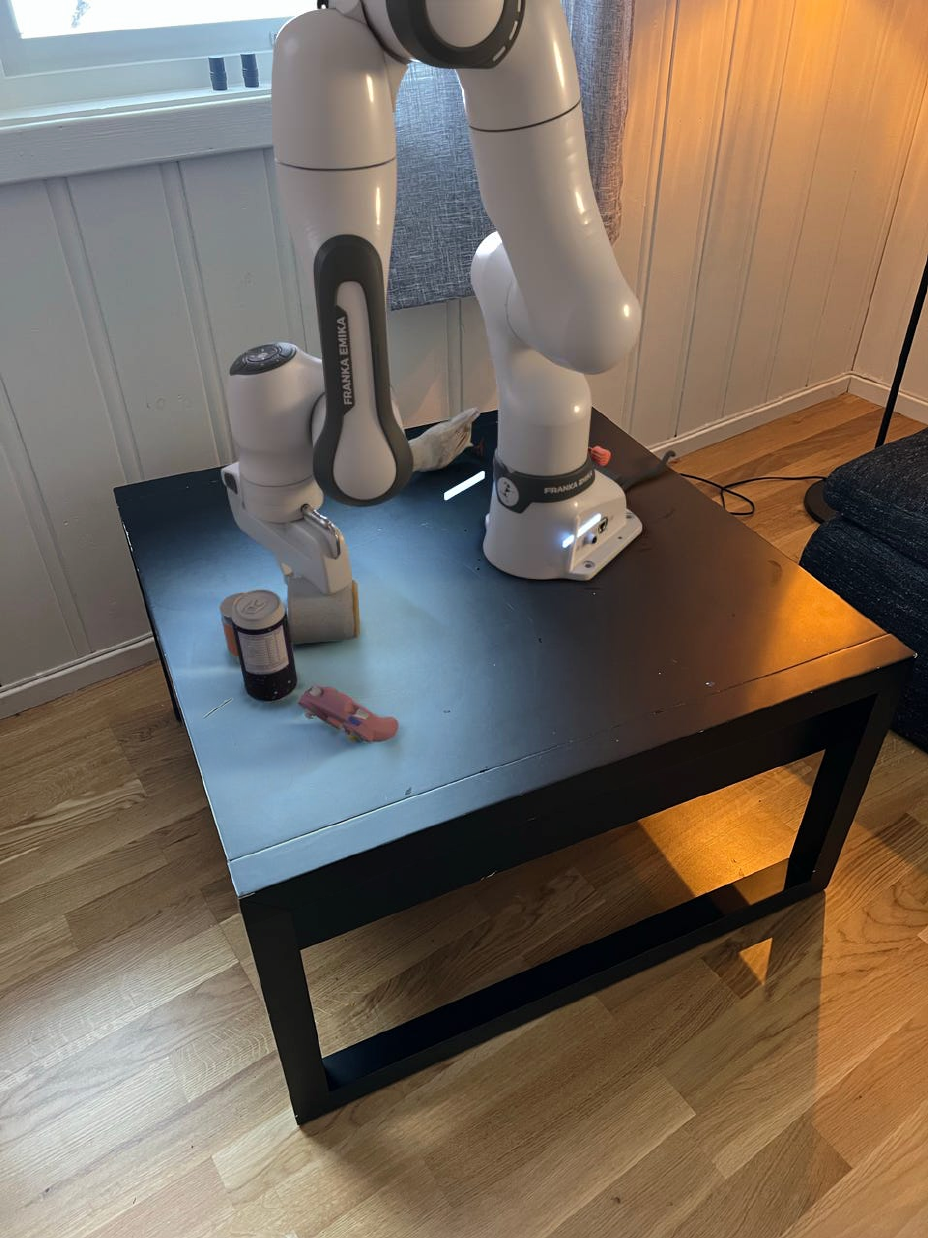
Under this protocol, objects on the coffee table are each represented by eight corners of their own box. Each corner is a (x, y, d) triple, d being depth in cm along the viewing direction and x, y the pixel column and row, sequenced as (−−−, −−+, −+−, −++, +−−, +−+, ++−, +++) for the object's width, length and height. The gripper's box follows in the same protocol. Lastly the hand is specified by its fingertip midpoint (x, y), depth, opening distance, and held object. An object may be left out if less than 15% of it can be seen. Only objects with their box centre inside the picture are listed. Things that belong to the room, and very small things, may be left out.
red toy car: (310, 726, 100) (283, 701, 94) (333, 690, 102) (307, 663, 96) (383, 764, 96) (359, 740, 90) (405, 726, 97) (384, 700, 92)
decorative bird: (383, 479, 138) (380, 433, 133) (466, 445, 146) (466, 400, 141) (405, 493, 135) (403, 447, 130) (489, 458, 143) (489, 413, 138)
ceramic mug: (363, 651, 108) (358, 598, 103) (291, 657, 107) (283, 604, 102) (359, 597, 116) (354, 545, 111) (292, 602, 115) (285, 550, 110)
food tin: (256, 634, 110) (247, 586, 106) (278, 653, 107) (270, 605, 103) (221, 651, 108) (211, 604, 103) (243, 672, 105) (233, 624, 101)
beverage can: (308, 683, 103) (296, 597, 96) (275, 714, 100) (260, 627, 92) (269, 666, 106) (253, 581, 98) (235, 695, 102) (216, 609, 94)
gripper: (360, 516, 100) (369, 616, 109) (258, 447, 112) (274, 542, 121) (311, 538, 97) (325, 639, 106) (212, 465, 109) (231, 561, 118)
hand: (297, 587), depth 113 cm, fingers closed
